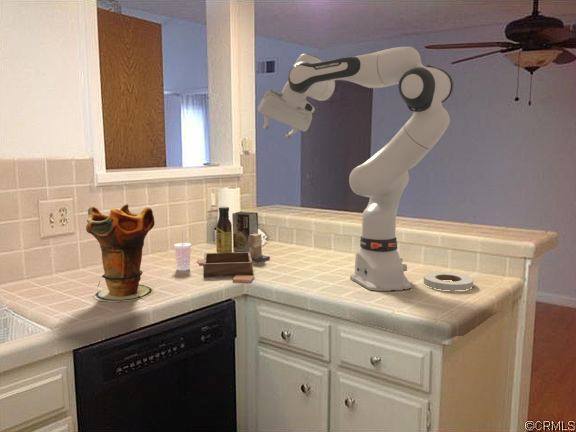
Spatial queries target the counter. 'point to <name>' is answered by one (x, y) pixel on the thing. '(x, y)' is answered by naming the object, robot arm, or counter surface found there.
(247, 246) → the coffee box
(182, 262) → the beverage cup
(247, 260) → the box
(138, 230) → the decorative vase
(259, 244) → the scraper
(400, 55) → the robot arm
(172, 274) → the counter surface
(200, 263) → the tile
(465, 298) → the counter surface
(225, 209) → the sauce bottle
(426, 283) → the roll of tape
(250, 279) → the tile
